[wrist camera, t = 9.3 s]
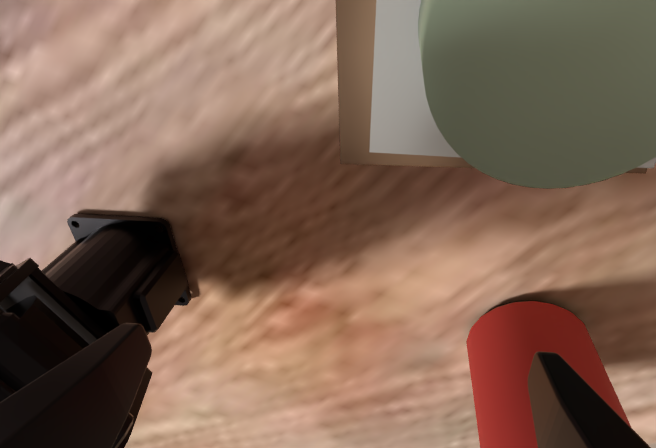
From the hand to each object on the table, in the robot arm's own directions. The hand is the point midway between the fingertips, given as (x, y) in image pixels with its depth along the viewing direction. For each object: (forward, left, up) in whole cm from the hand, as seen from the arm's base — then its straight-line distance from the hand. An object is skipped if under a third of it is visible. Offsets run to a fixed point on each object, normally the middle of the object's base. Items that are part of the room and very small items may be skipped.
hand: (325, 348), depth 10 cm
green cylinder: (+5, +6, -7) cm, 10 cm away
